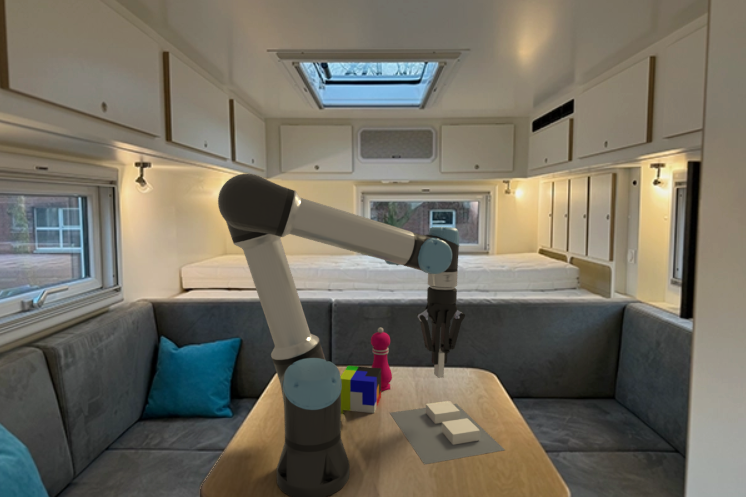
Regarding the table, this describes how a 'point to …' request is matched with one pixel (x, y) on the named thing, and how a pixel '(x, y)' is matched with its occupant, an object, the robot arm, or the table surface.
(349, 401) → the puzzle toy
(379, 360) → the pepper mill
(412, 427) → the slate board
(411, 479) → the table surface
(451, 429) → the tile
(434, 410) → the tile
